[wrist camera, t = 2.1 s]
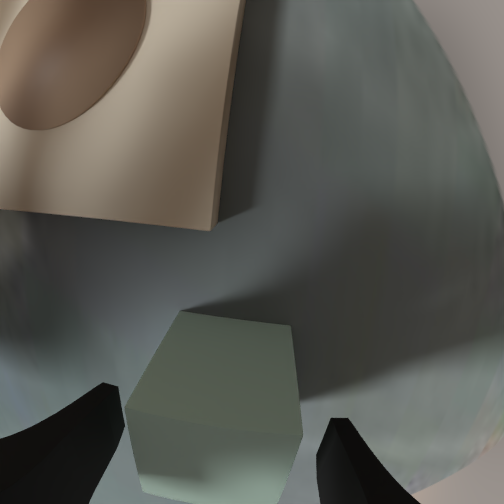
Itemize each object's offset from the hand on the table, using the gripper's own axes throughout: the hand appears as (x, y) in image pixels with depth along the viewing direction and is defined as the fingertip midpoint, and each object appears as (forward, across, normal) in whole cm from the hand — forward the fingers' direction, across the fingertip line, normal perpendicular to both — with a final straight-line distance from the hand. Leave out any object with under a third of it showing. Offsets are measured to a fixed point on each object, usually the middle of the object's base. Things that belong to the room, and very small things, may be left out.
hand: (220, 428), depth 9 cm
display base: (+4, +8, -13) cm, 16 cm away
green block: (+4, 0, 0) cm, 4 cm away
